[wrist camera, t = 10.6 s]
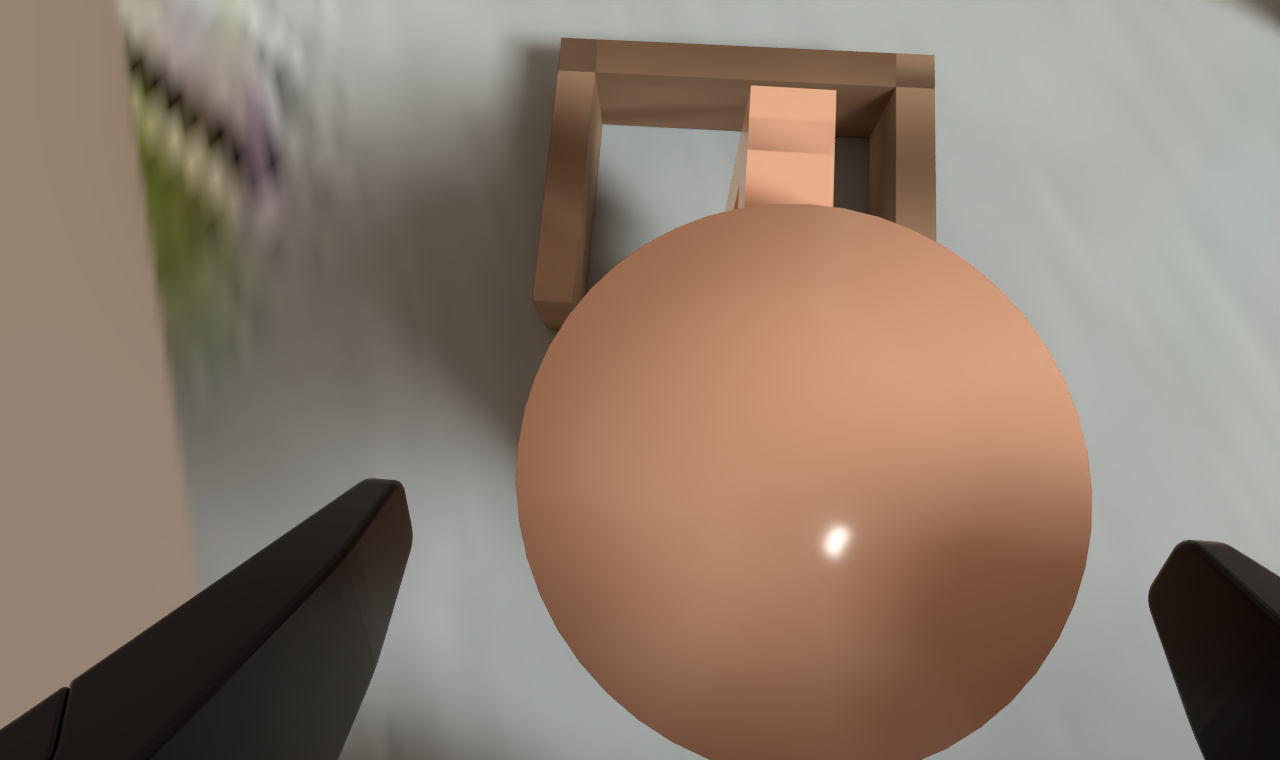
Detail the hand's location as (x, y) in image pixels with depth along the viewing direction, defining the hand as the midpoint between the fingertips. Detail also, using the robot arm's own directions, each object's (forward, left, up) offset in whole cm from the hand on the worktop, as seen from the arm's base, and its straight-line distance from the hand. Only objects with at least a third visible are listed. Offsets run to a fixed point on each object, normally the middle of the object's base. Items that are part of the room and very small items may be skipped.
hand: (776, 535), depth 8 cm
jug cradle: (+8, +2, -11) cm, 14 cm away
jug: (+2, +1, -11) cm, 11 cm away
